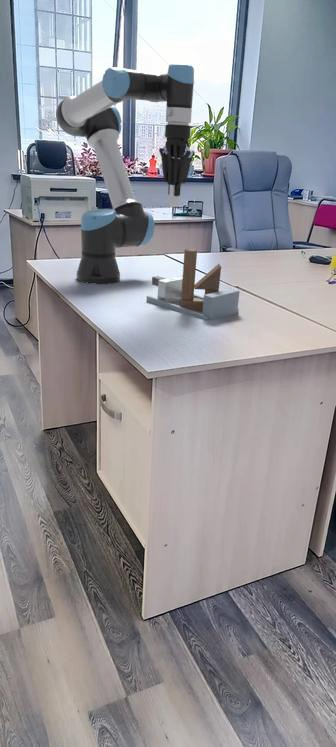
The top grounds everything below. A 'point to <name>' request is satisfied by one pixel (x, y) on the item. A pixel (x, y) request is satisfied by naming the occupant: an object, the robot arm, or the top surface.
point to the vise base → (208, 304)
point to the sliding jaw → (168, 288)
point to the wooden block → (188, 283)
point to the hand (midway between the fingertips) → (173, 206)
